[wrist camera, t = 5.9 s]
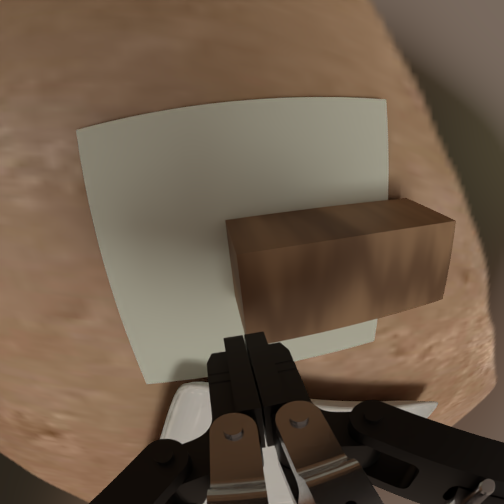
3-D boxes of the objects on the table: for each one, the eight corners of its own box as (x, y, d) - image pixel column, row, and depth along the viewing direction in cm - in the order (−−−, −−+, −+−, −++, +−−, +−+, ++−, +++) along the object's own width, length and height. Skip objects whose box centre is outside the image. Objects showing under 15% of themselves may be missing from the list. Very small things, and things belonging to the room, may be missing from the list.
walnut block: (236, 254, 13) (455, 220, 15) (225, 220, 18) (406, 198, 19) (248, 347, 15) (442, 299, 17) (235, 296, 20) (400, 265, 21)
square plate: (179, 347, 22) (179, 386, 18) (426, 382, 30) (443, 404, 26) (133, 490, 30) (133, 515, 26) (314, 498, 38) (320, 516, 34)
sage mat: (79, 129, 15) (76, 130, 14) (380, 99, 17) (386, 99, 17) (147, 378, 22) (146, 384, 21) (370, 336, 24) (374, 340, 24)
